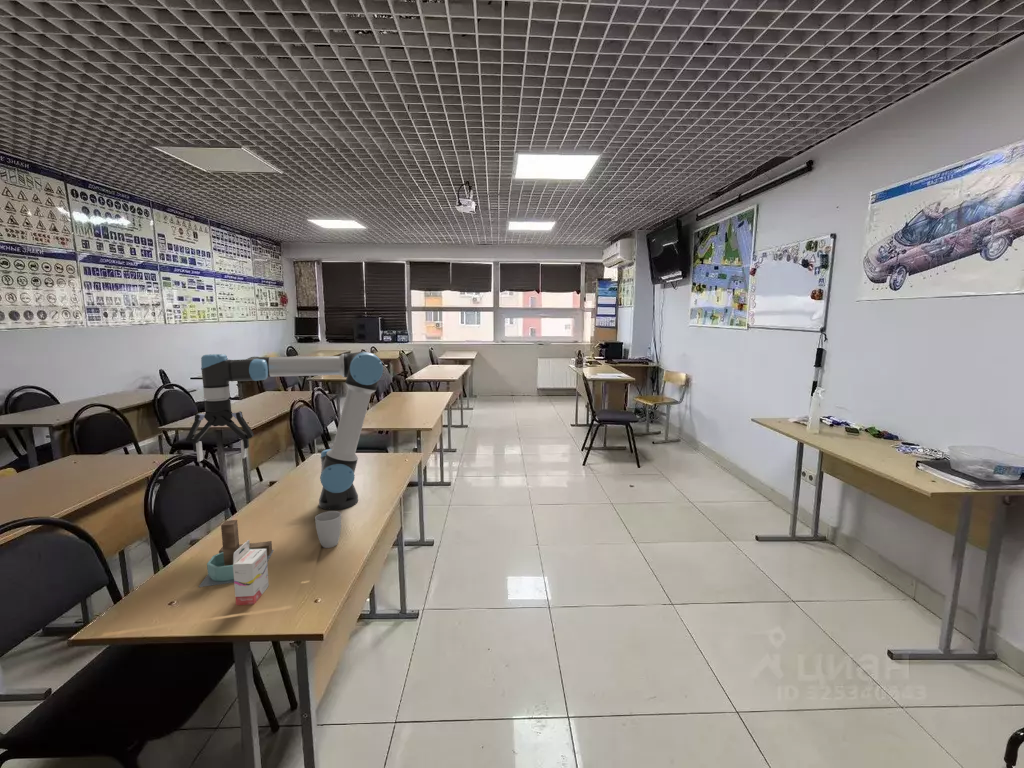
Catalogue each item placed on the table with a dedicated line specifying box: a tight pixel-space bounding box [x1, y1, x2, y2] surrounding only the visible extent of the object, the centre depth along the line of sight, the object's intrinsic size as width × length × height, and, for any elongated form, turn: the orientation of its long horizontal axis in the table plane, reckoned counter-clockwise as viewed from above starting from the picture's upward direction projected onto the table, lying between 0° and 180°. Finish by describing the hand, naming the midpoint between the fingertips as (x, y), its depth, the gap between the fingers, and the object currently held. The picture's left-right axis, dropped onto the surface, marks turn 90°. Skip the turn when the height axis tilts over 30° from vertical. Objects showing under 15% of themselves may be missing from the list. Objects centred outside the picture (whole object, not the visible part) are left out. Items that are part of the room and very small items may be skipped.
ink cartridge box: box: [233, 539, 269, 606], centre depth 120 cm, size 9×5×15 cm, turn 5°
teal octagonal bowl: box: [206, 548, 250, 582], centre depth 132 cm, size 11×11×4 cm
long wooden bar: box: [218, 540, 273, 555], centre depth 141 cm, size 14×3×3 cm, turn 105°
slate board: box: [198, 549, 275, 588], centre depth 135 cm, size 15×18×1 cm
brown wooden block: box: [220, 519, 240, 566], centre depth 132 cm, size 3×3×14 cm
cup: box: [314, 510, 342, 549], centre depth 149 cm, size 8×8×10 cm
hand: (222, 459), depth 156 cm, fingers open, 13 cm apart
